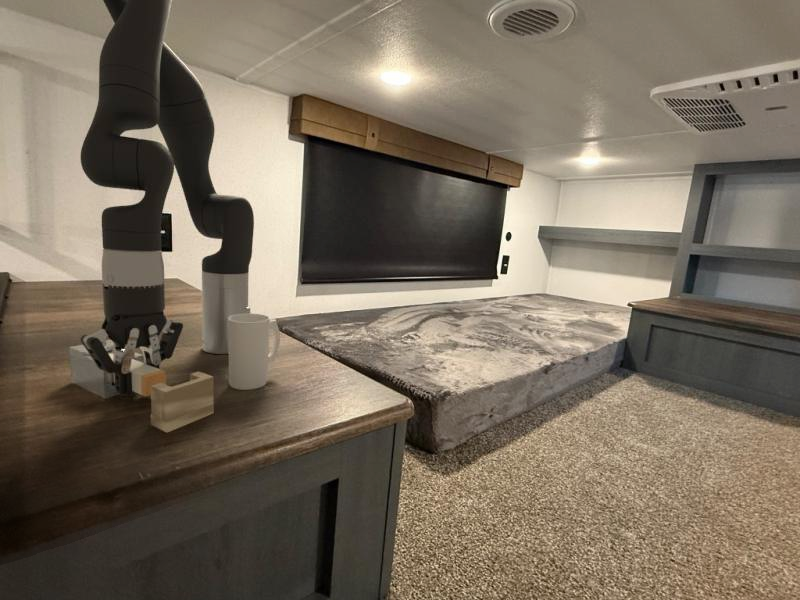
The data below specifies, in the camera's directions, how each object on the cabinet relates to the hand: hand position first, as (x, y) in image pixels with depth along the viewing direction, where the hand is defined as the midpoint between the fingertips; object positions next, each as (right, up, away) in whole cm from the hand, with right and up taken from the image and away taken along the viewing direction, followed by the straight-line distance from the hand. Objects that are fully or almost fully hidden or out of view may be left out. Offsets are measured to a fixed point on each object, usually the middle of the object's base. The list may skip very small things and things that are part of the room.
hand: (138, 390), depth 60 cm
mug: (+14, -1, +11) cm, 18 cm away
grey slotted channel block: (-8, 0, +4) cm, 9 cm away
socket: (+10, -3, -5) cm, 11 cm away
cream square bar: (-4, +1, +2) cm, 5 cm away
